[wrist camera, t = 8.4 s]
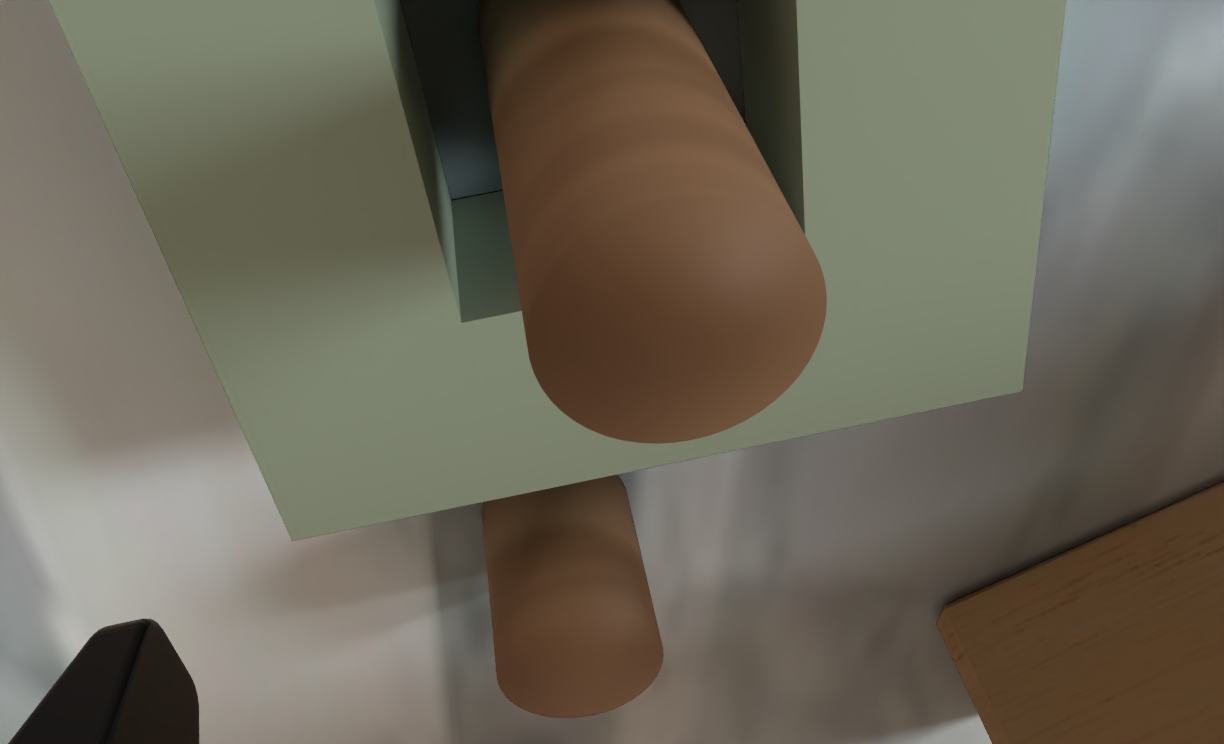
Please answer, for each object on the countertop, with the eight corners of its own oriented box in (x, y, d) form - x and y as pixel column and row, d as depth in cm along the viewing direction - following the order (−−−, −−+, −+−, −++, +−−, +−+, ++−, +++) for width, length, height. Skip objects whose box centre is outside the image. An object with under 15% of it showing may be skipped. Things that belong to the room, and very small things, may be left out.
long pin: (683, 95, 19) (829, 412, 12) (499, 131, 19) (553, 468, 12) (663, -95, 17) (823, 165, 11) (458, -56, 17) (499, 228, 11)
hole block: (942, 274, 22) (1022, 391, 19) (304, 402, 21) (292, 540, 19) (983, -537, 14) (1125, -535, 11) (1, -360, 14) (-94, -316, 11)
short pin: (636, 544, 25) (671, 698, 22) (498, 572, 25) (514, 732, 22) (617, 441, 23) (652, 594, 20) (468, 471, 23) (480, 630, 20)
